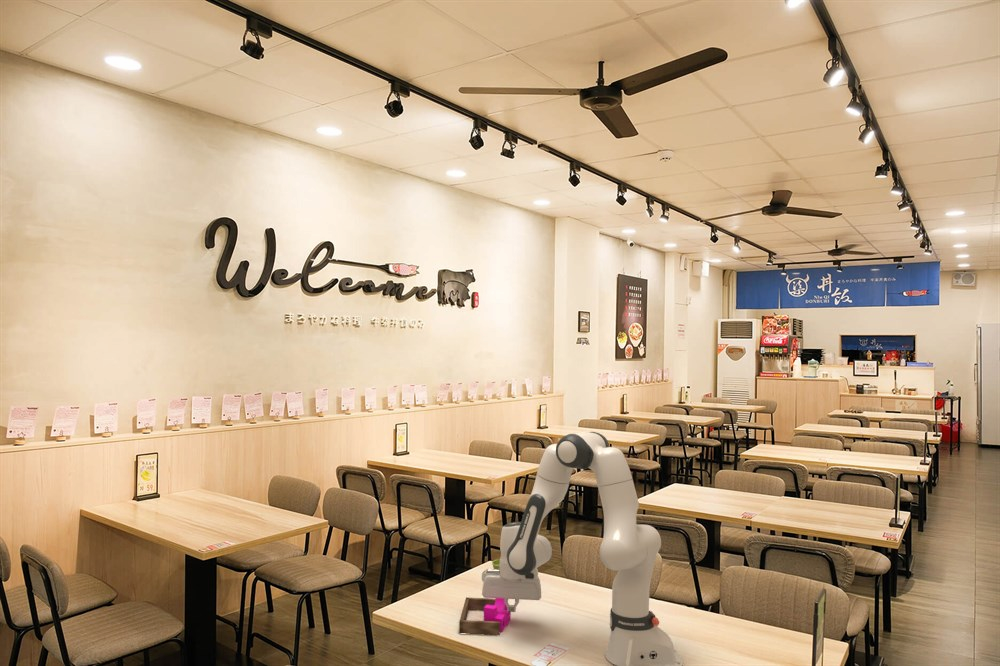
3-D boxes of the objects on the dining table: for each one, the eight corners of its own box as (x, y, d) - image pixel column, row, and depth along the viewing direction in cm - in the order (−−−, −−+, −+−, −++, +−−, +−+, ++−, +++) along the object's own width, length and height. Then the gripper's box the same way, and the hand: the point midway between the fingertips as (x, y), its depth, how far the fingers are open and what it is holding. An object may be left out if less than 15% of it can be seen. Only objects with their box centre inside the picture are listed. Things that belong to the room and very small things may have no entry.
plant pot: (505, 579, 270) (505, 557, 270) (519, 585, 263) (520, 563, 263) (486, 583, 264) (487, 561, 265) (501, 590, 257) (501, 568, 257)
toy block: (501, 633, 218) (502, 610, 219) (483, 630, 220) (483, 607, 221) (514, 616, 233) (514, 594, 233) (497, 613, 235) (497, 592, 235)
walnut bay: (502, 610, 237) (502, 598, 237) (499, 635, 216) (499, 623, 216) (465, 608, 238) (466, 597, 238) (459, 633, 217) (459, 621, 217)
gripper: (481, 571, 225) (480, 613, 224) (542, 574, 223) (540, 616, 223) (482, 565, 231) (481, 606, 230) (541, 568, 230) (540, 609, 229)
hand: (511, 611), depth 227 cm, fingers closed
